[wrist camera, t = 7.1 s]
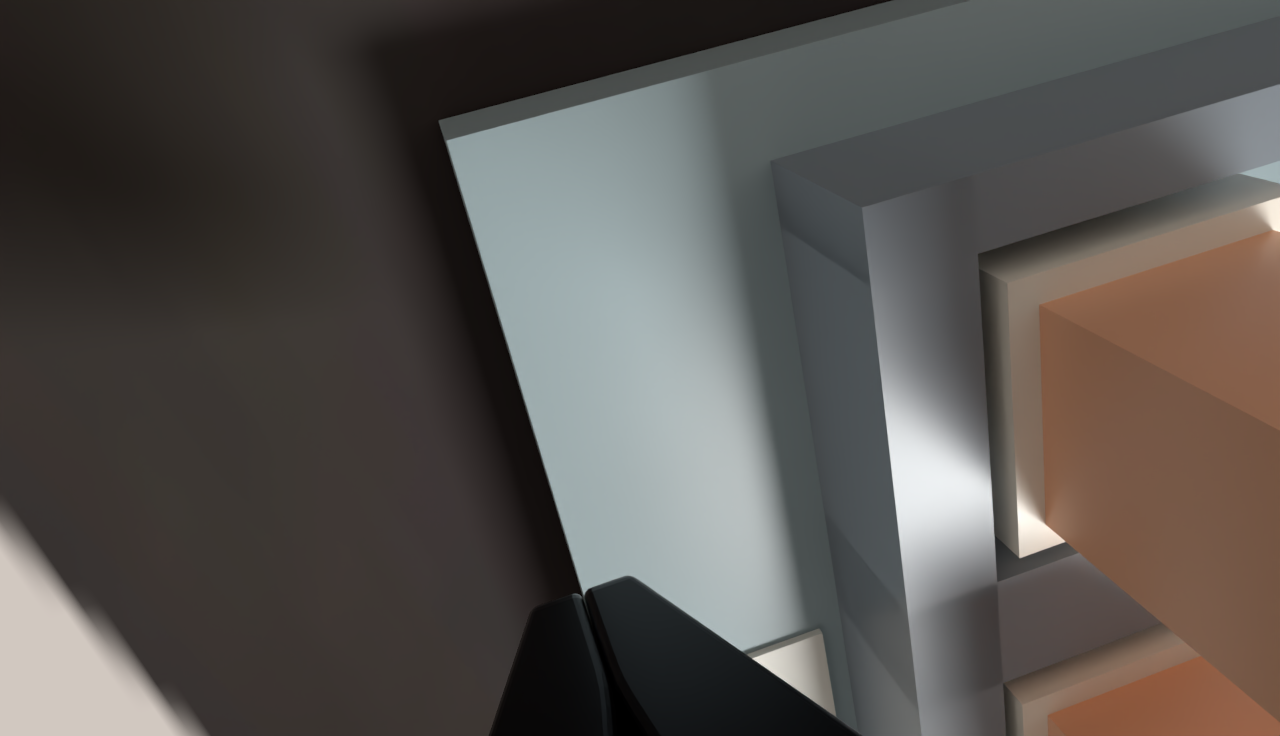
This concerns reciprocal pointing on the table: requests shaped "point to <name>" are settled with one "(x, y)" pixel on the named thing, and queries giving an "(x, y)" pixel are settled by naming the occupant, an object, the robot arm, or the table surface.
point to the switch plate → (837, 316)
